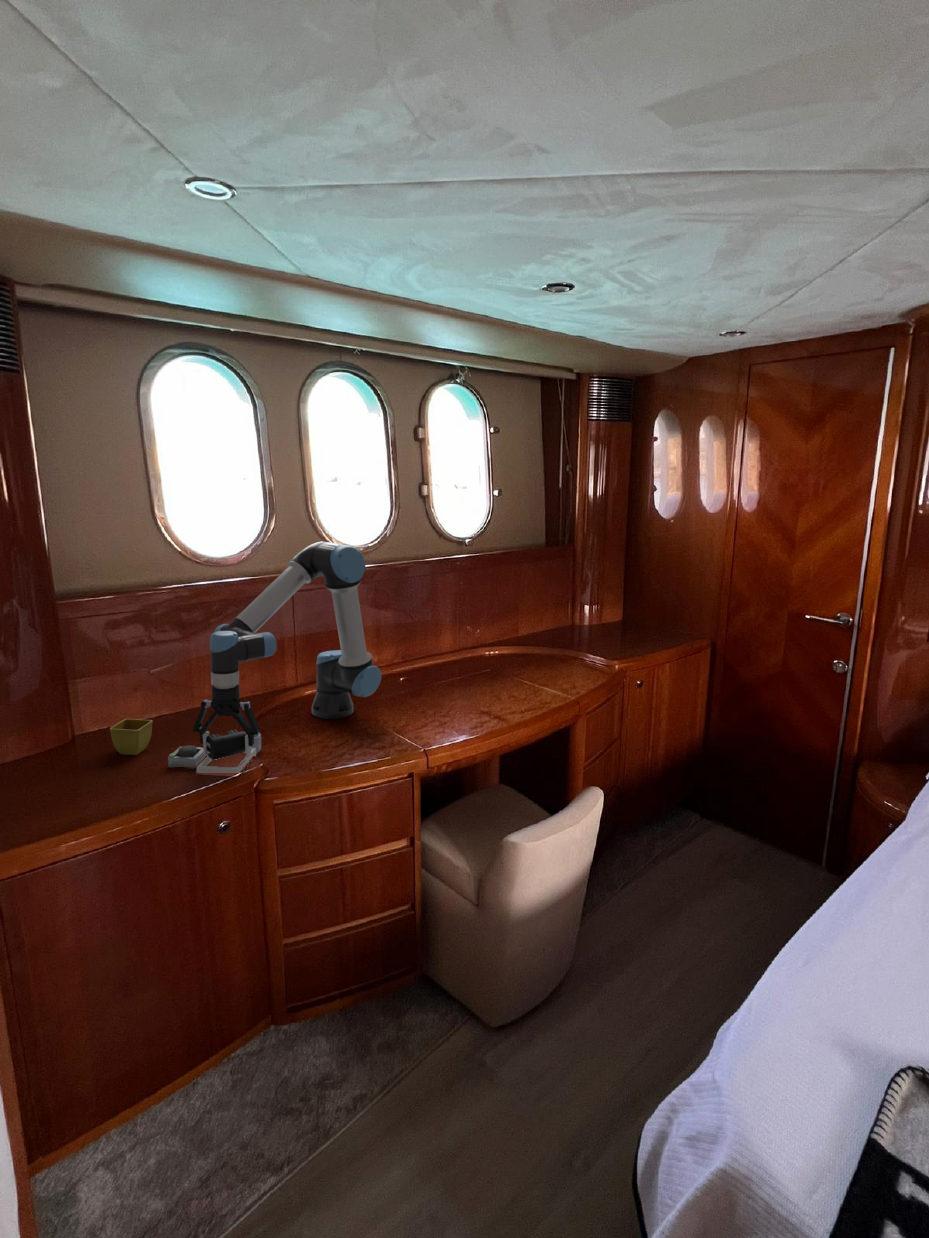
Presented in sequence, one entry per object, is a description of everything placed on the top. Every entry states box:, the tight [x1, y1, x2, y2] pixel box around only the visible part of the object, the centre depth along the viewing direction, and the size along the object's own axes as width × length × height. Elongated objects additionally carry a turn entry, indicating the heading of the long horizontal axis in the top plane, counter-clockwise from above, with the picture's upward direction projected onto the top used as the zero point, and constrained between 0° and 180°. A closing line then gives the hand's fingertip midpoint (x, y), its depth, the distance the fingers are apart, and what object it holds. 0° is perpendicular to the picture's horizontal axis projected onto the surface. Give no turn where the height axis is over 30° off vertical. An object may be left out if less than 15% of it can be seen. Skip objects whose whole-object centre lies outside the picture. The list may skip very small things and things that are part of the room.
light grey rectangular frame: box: [196, 747, 257, 774], centre depth 188 cm, size 12×15×2 cm
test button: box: [177, 745, 198, 757], centre depth 188 cm, size 5×5×3 cm
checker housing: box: [167, 745, 208, 768], centre depth 188 cm, size 8×8×4 cm
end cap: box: [206, 729, 246, 760], centre depth 187 cm, size 10×7×7 cm
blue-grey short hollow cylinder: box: [244, 731, 262, 754], centre depth 198 cm, size 6×6×5 cm
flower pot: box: [109, 718, 153, 756], centre depth 192 cm, size 9×9×9 cm
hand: (227, 754), depth 187 cm, fingers closed on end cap, 12 cm apart
